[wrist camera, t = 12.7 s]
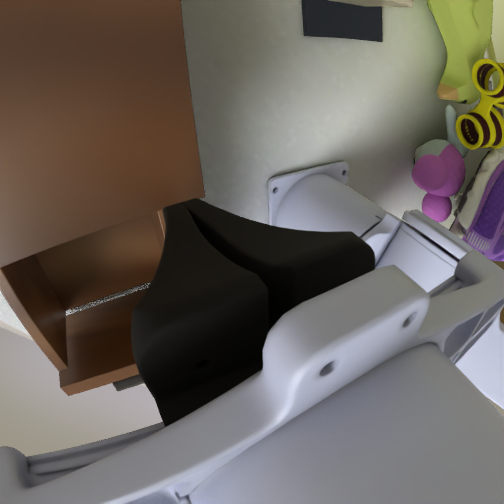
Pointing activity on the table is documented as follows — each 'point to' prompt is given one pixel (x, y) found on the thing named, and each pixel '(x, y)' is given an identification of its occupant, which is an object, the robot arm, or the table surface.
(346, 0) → the block
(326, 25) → the mat
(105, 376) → the drawer
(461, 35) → the toy
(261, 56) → the table surface
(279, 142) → the table surface
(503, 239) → the running shoe
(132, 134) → the cabinet
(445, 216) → the toy
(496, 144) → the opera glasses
